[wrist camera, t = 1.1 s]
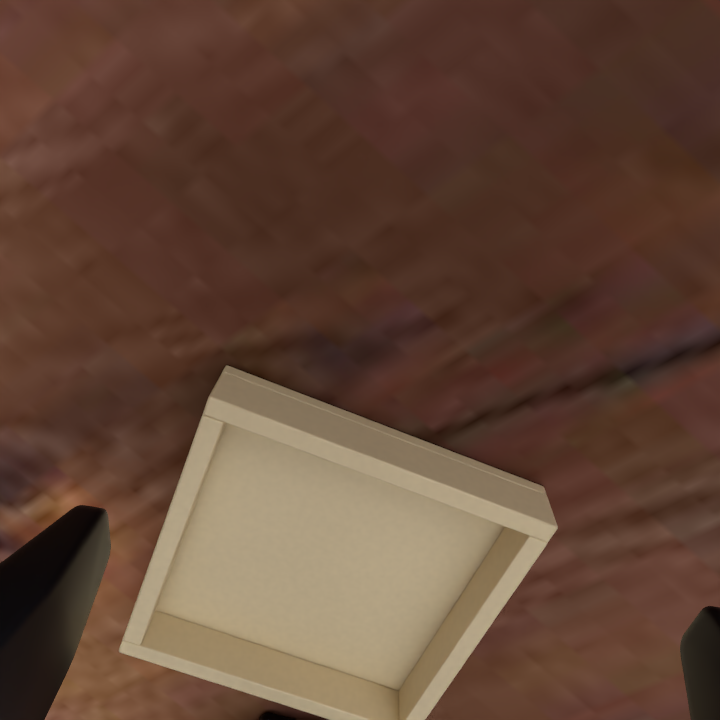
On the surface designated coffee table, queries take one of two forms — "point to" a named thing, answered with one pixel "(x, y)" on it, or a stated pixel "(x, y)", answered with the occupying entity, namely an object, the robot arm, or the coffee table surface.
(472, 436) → the coffee table surface
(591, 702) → the coffee table surface
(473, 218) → the coffee table surface
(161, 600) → the tray
